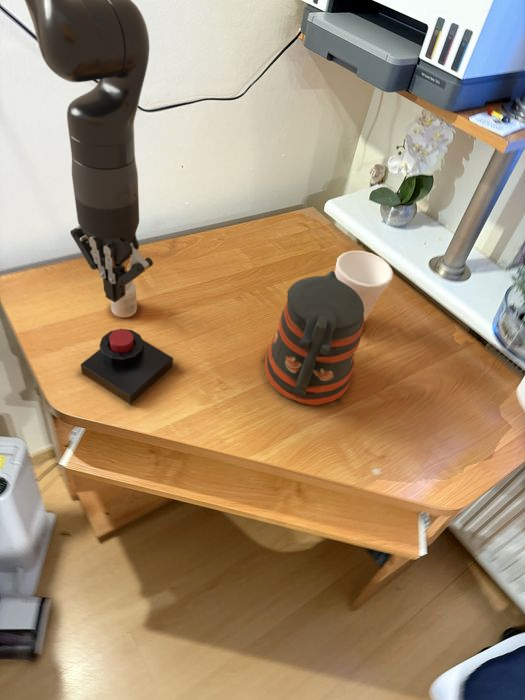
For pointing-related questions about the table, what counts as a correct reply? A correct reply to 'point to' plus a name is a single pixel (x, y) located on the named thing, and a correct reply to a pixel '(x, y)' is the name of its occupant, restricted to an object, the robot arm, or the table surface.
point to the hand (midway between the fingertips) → (115, 297)
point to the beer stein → (316, 340)
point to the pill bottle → (126, 302)
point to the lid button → (121, 341)
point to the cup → (364, 276)
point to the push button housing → (127, 368)
